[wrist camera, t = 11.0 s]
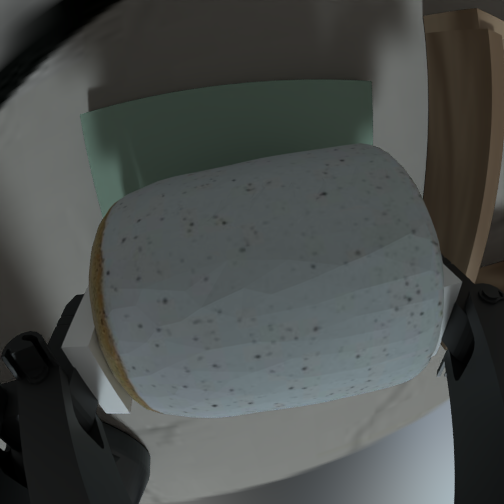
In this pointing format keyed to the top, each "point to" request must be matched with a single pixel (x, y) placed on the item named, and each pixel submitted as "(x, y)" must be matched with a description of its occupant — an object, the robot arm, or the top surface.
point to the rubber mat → (220, 129)
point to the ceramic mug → (268, 284)
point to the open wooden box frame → (465, 135)
